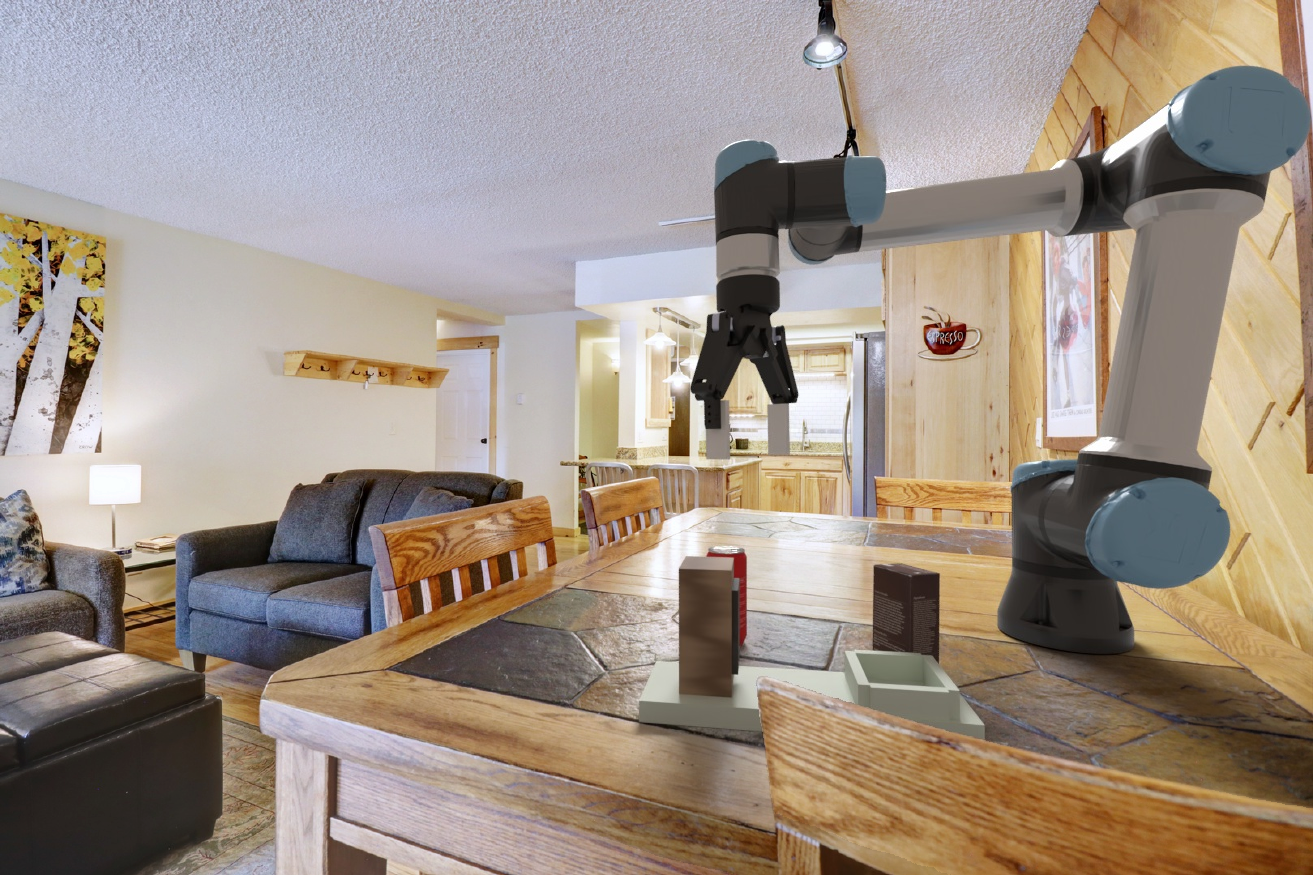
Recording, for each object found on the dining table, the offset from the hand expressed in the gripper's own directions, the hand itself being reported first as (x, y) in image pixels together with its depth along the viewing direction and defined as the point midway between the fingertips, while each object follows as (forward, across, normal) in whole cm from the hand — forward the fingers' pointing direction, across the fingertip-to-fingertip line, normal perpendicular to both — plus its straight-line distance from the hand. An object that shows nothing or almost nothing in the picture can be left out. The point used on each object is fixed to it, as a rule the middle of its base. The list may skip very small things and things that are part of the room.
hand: (750, 457), depth 73 cm
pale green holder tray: (+24, +9, +11) cm, 28 cm away
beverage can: (+24, -2, -6) cm, 25 cm away
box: (+24, -6, +16) cm, 30 cm away
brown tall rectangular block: (+22, +14, +3) cm, 26 cm away
